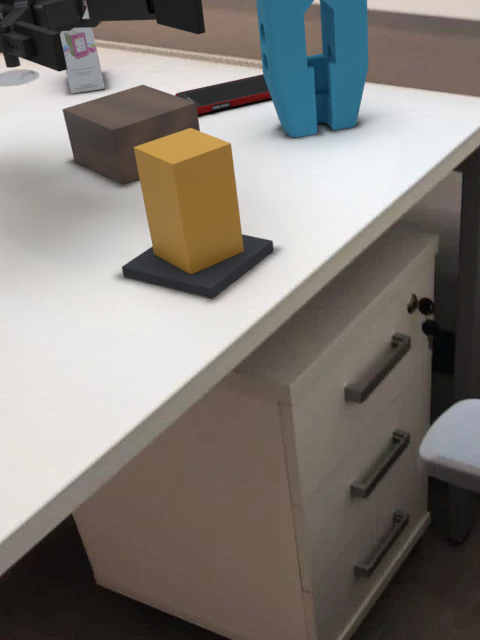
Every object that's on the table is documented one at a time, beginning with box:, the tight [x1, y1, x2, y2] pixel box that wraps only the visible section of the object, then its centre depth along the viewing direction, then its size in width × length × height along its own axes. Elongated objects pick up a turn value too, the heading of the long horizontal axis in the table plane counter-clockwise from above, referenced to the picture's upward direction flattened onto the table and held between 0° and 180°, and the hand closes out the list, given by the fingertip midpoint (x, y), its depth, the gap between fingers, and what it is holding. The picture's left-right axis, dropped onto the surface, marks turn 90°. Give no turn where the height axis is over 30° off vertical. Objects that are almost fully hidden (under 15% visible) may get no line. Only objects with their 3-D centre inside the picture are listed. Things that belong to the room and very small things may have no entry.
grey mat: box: [121, 233, 275, 299], centre depth 81 cm, size 10×10×1 cm
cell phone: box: [174, 73, 272, 115], centre depth 118 cm, size 8×15×1 cm, turn 116°
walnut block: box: [61, 84, 201, 185], centre depth 102 cm, size 11×11×6 cm
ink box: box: [60, 6, 105, 94], centre depth 125 cm, size 9×5×12 cm, turn 13°
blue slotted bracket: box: [255, 0, 370, 138], centre depth 102 cm, size 12×5×20 cm, turn 107°
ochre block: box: [134, 128, 244, 275], centre depth 78 cm, size 6×6×10 cm
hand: (133, 33), depth 72 cm, fingers open, 13 cm apart
